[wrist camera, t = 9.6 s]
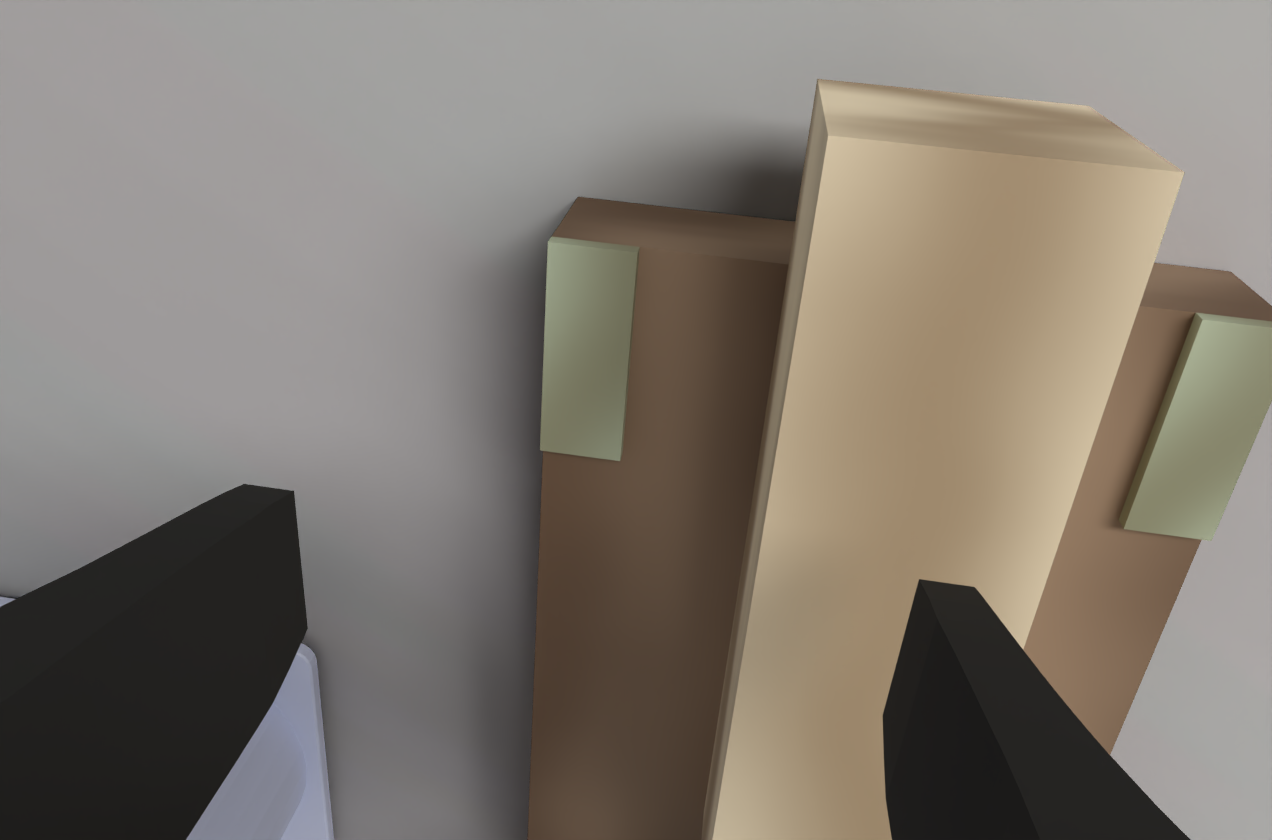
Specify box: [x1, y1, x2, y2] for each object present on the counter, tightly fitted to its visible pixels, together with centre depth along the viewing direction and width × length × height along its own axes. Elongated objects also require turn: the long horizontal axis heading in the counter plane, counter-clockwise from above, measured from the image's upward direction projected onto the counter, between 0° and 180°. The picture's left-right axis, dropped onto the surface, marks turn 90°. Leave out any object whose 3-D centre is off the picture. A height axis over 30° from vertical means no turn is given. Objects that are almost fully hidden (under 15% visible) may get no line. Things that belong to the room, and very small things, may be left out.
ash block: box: [701, 79, 1185, 840], centre depth 17 cm, size 4×16×4 cm, turn 176°
